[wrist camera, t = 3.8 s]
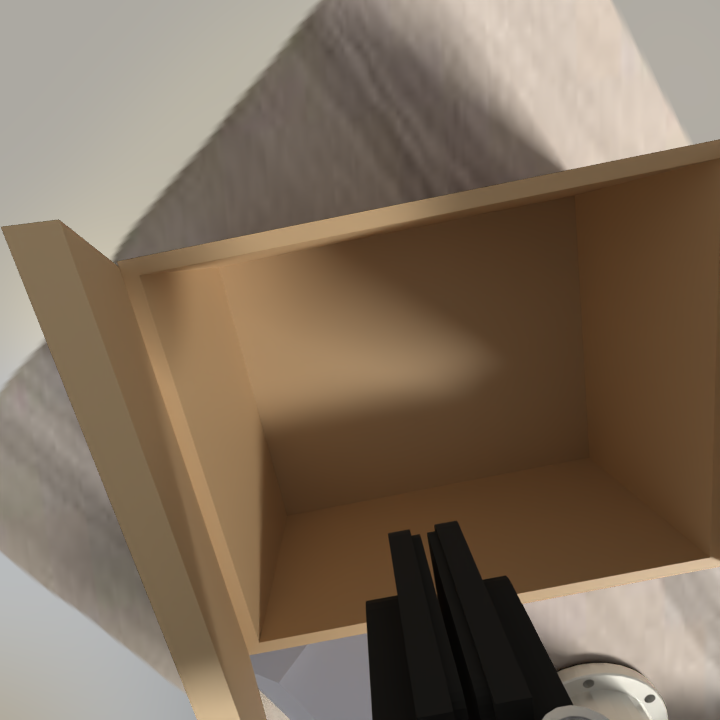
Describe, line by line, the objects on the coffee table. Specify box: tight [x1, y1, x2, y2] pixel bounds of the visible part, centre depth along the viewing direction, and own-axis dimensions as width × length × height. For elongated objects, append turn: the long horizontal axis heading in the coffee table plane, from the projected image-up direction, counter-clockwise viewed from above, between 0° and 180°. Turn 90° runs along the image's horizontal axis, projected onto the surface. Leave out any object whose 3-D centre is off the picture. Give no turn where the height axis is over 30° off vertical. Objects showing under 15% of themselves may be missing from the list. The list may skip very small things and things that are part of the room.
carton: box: [117, 139, 720, 655], centre depth 21 cm, size 18×22×10 cm
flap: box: [1, 220, 267, 720], centre depth 12 cm, size 18×10×1 cm
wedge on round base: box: [249, 633, 372, 720], centre depth 28 cm, size 9×7×13 cm
